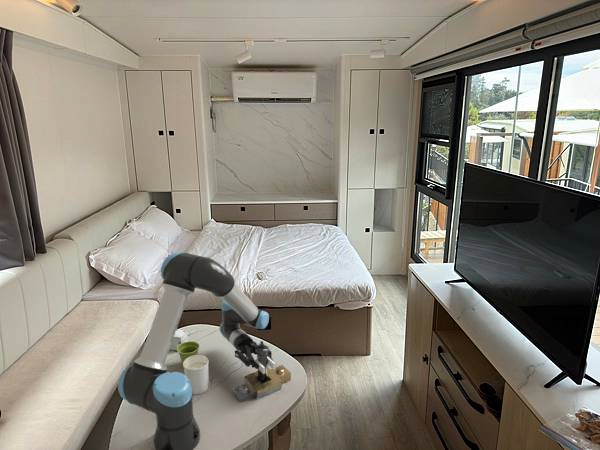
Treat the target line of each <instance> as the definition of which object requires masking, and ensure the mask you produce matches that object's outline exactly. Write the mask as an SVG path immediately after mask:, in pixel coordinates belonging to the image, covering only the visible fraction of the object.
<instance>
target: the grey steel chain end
mask: <svg viewBox="0 0 600 450" xmlns="http://www.w3.org/2000/svg"><path fill="white" fill-rule="evenodd" d="M256 381H257V382H258V383H259V384H260V383H261V382H259V381H258V380H256ZM267 381H269V380H267ZM267 381H266V382H267ZM281 389H282V385H279V386H277V387H275V388H273V389H270V390H268V391H266V392H263V393H261V394H259V395H257V394H256V393H255V392H254V391H253V389H252V388H251V387H250V386H249V385H248V384H247V383H246V382H245V381H244V380H243V384H241V385H239V386H237V387H234V388H233V392H232V393H233V394H234V395H235V396H236V398H237V399H238V400H239V401H240V402H241V403H242V402H243V401H246V400H248V399H250V398H254V397H255V398H256V399H257V400H258V399H261V398H263V397H265V396H267V395H270V394H273V393H274V392H277V391H278V390H281Z"/></svg>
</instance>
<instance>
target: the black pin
mask: <svg viewBox="0 0 600 450" xmlns="http://www.w3.org/2000/svg"><path fill="white" fill-rule="evenodd" d="M269 350H270V349H269V346H268V345H265V344H264V345H259V346H257V347H256V348H255V352H256V359H257V360H258V361H259V362H260V363H261V364H262V365H263V366H264V367H265V374H263V373H262V372H261V371H260V370H259V369H257V371H258V381H259V382H260V383H265V382H266V381H267V380H268V368H269V367H268V366H269V365H268V364H267V353H268V352H269Z"/></svg>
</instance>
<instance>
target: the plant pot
mask: <svg viewBox="0 0 600 450" xmlns="http://www.w3.org/2000/svg"><path fill="white" fill-rule="evenodd" d="M199 349H200V344H199V343H198V342H196V341H193V340H191V341H190V340H188V342H184V343H182V344H180V345H179V346H178V347H177V350H176V351H177V353H178V354H179V356H180V360H181V365H182V366H183V362H184V361H185V360H186V359H187V358H189V357H191V356H194V355H199V354H198V353H199Z"/></svg>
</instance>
